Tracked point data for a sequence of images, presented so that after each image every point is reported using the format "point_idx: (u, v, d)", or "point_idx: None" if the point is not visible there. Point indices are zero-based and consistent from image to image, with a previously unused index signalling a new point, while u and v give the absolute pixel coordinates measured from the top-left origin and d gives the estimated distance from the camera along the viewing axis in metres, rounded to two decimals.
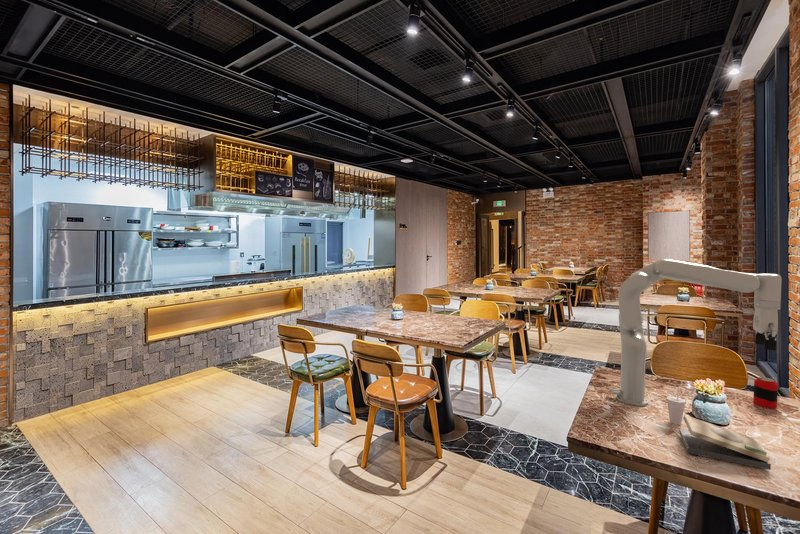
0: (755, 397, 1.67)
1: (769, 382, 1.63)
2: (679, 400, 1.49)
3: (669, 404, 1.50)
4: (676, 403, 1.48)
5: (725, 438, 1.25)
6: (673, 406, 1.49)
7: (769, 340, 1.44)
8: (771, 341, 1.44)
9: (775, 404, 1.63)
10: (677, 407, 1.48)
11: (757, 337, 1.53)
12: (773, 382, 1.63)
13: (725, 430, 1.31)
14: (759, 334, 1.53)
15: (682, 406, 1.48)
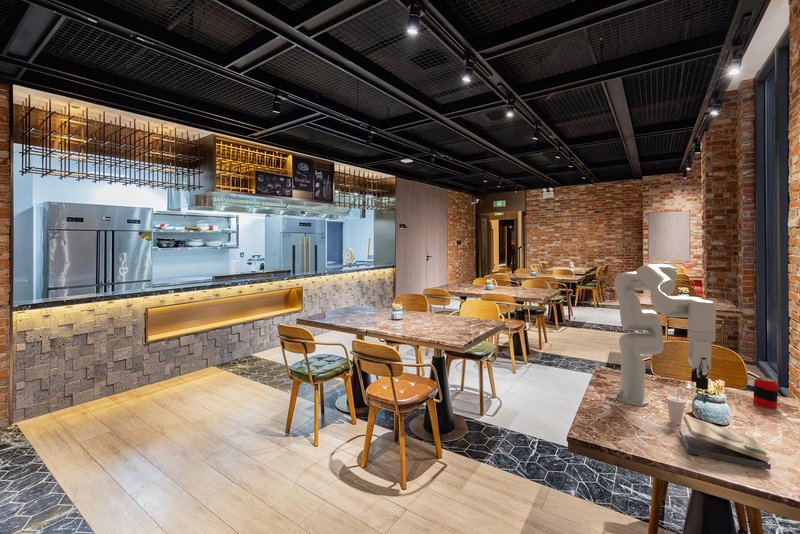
0: (755, 397, 1.67)
1: (769, 382, 1.63)
2: (679, 400, 1.49)
3: (669, 404, 1.50)
4: (676, 403, 1.48)
5: (725, 438, 1.25)
6: (673, 406, 1.49)
7: (700, 378, 1.26)
8: (702, 379, 1.26)
9: (775, 404, 1.63)
10: (677, 407, 1.48)
11: (693, 374, 1.34)
12: (773, 382, 1.63)
13: (725, 430, 1.31)
14: (695, 371, 1.33)
15: (682, 406, 1.48)
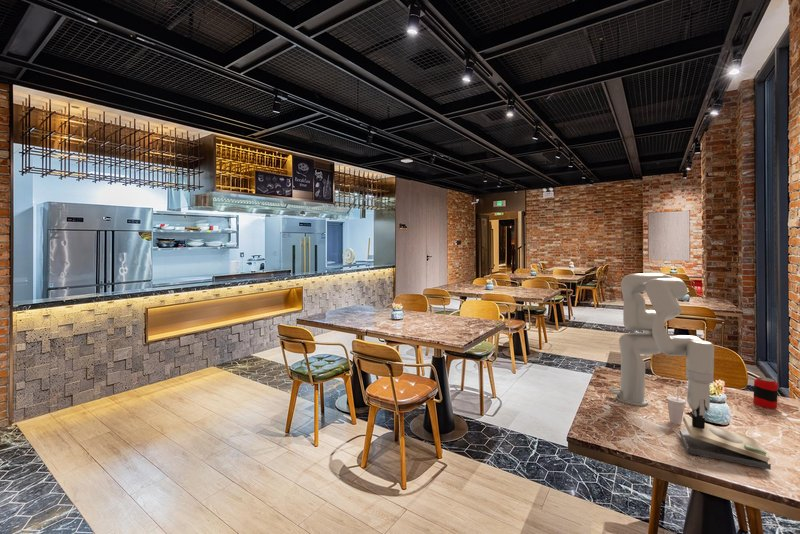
0: (755, 397, 1.67)
1: (769, 382, 1.63)
2: (679, 400, 1.49)
3: (669, 404, 1.50)
4: (676, 403, 1.48)
5: (724, 439, 1.25)
6: (673, 406, 1.49)
7: (697, 417, 1.30)
8: (699, 419, 1.29)
9: (775, 404, 1.63)
10: (677, 407, 1.48)
11: None
12: (773, 382, 1.63)
13: (725, 431, 1.31)
14: None
15: (682, 406, 1.48)
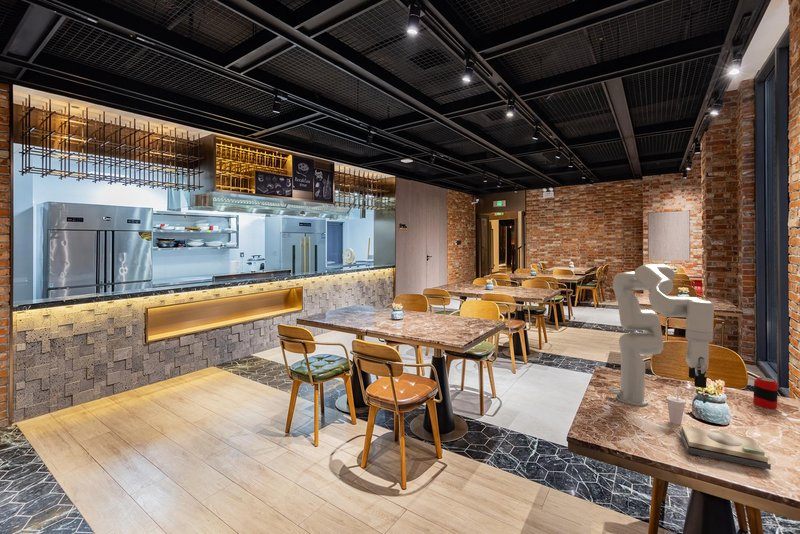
0: (755, 397, 1.67)
1: (769, 382, 1.63)
2: (679, 400, 1.49)
3: (669, 404, 1.50)
4: (676, 403, 1.48)
5: (722, 444, 1.25)
6: (673, 406, 1.49)
7: (699, 376, 1.27)
8: (701, 378, 1.27)
9: (775, 404, 1.63)
10: (677, 407, 1.48)
11: (690, 370, 1.36)
12: (773, 382, 1.63)
13: (723, 434, 1.31)
14: (693, 367, 1.36)
15: (682, 406, 1.48)
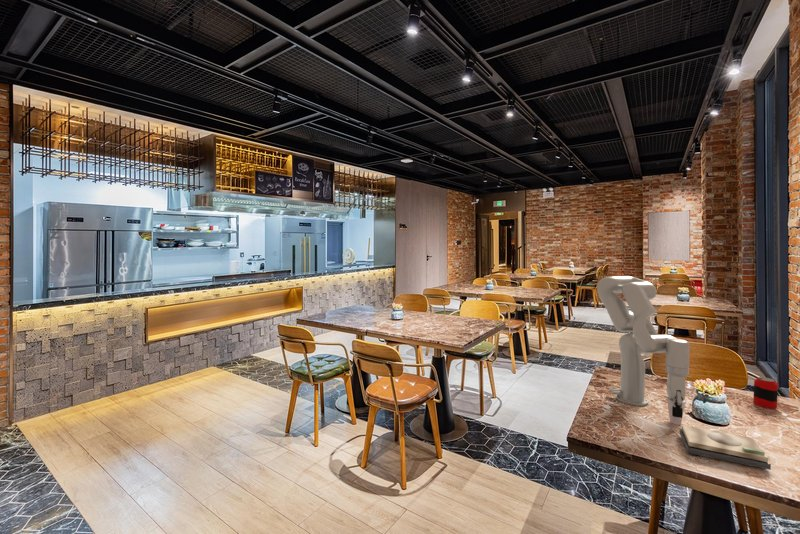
0: (755, 397, 1.67)
1: (769, 382, 1.63)
2: None
3: (669, 404, 1.50)
4: None
5: (722, 444, 1.25)
6: None
7: (676, 408, 1.47)
8: (678, 409, 1.46)
9: (775, 404, 1.63)
10: None
11: None
12: (773, 382, 1.63)
13: (723, 434, 1.31)
14: None
15: (682, 406, 1.48)
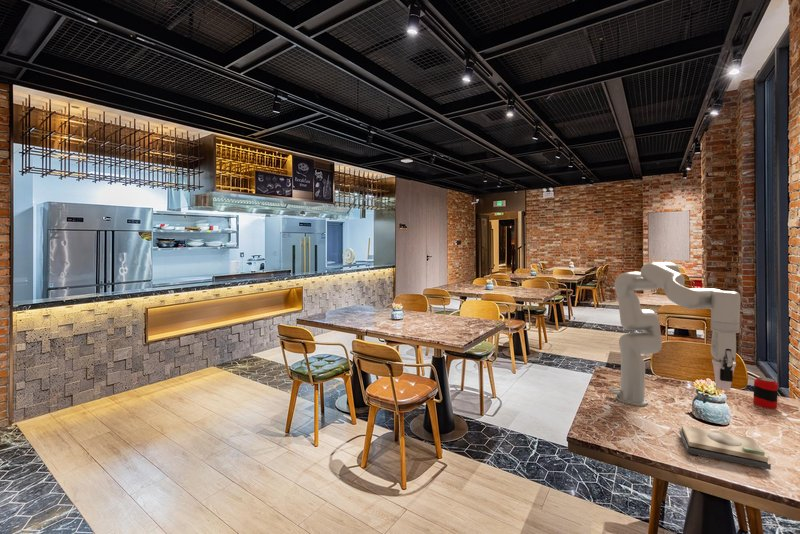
0: (755, 397, 1.67)
1: (769, 382, 1.63)
2: None
3: (716, 367, 1.28)
4: None
5: (722, 444, 1.25)
6: None
7: (725, 370, 1.25)
8: (727, 371, 1.25)
9: (775, 404, 1.63)
10: None
11: None
12: (773, 382, 1.63)
13: (723, 434, 1.31)
14: None
15: None
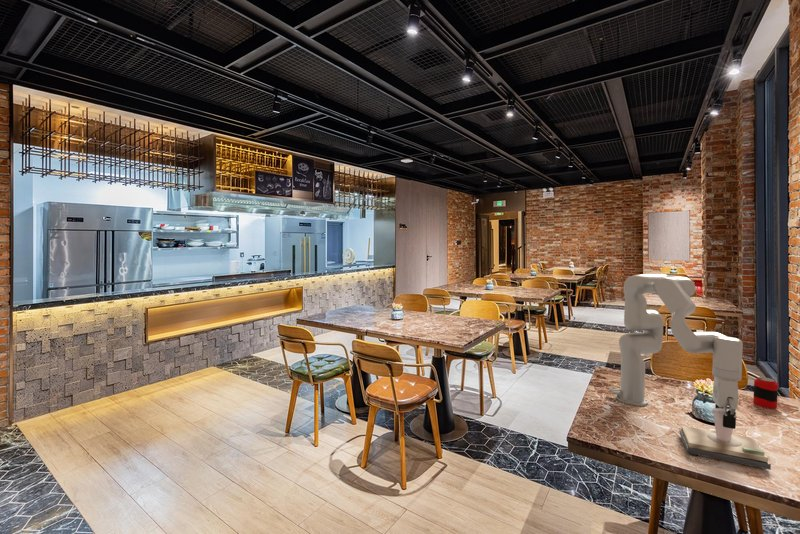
0: (755, 397, 1.67)
1: (769, 382, 1.63)
2: None
3: (716, 417, 1.28)
4: None
5: (722, 444, 1.25)
6: (721, 420, 1.27)
7: (728, 417, 1.23)
8: (730, 418, 1.23)
9: (775, 404, 1.63)
10: None
11: None
12: (773, 382, 1.63)
13: None
14: None
15: None
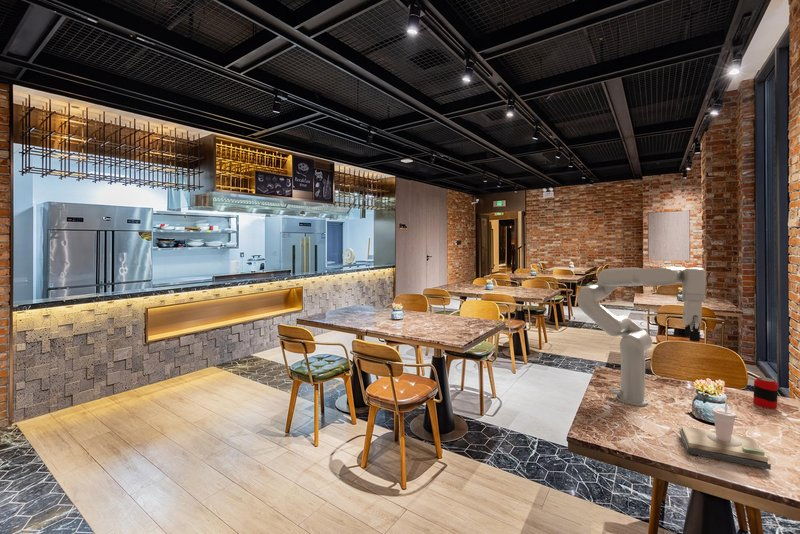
0: (755, 397, 1.67)
1: (769, 382, 1.63)
2: (728, 413, 1.27)
3: (716, 417, 1.28)
4: (725, 416, 1.26)
5: (722, 444, 1.25)
6: (721, 420, 1.27)
7: (693, 332, 1.49)
8: (695, 333, 1.49)
9: (775, 404, 1.63)
10: (726, 421, 1.26)
11: (686, 329, 1.58)
12: (773, 382, 1.63)
13: None
14: (688, 326, 1.58)
15: (732, 420, 1.26)
